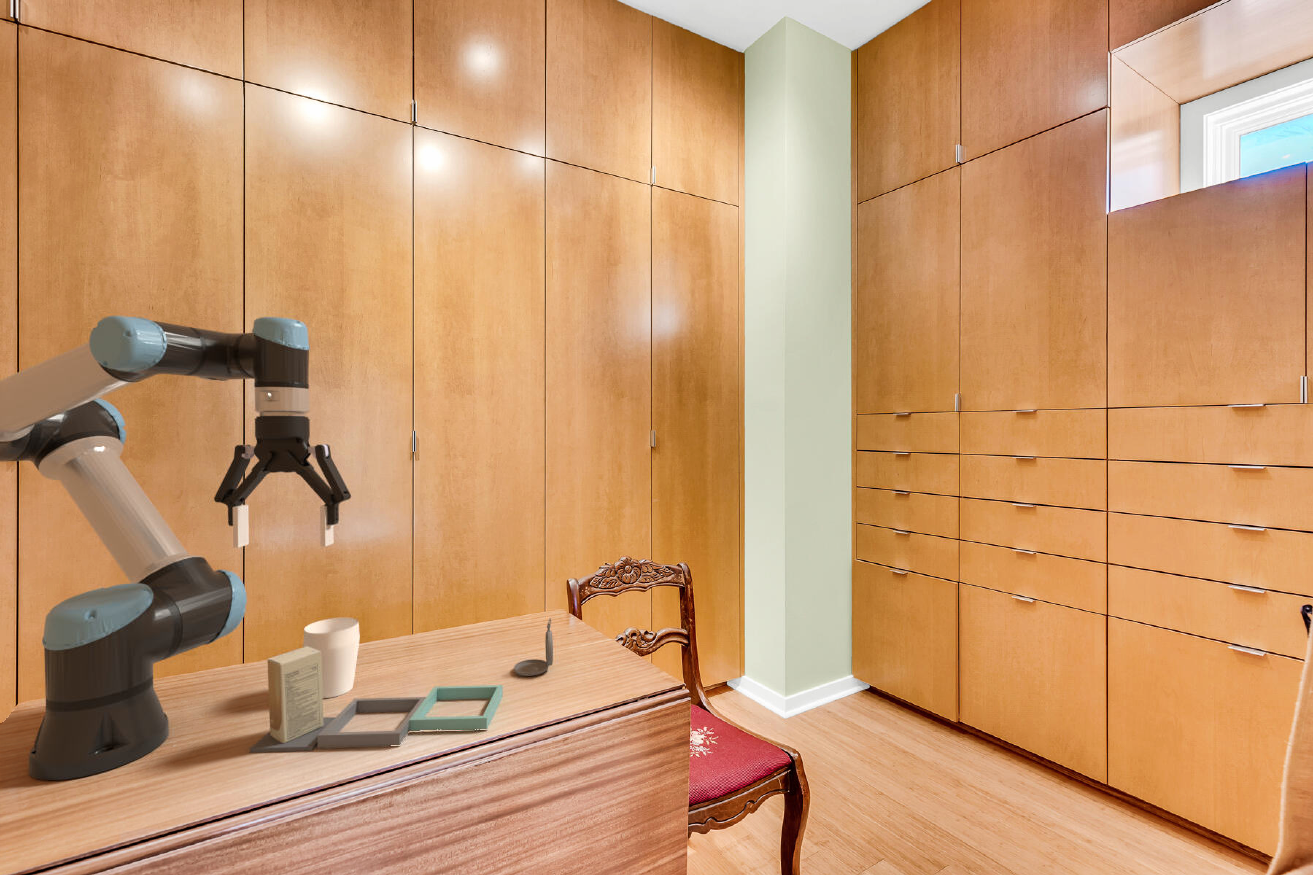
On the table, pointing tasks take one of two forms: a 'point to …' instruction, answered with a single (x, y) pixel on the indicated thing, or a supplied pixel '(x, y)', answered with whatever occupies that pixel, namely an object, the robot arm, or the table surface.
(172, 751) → the table surface
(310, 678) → the skincare box
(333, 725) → the grey frame
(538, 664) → the pocket watch
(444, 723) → the teal frame
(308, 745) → the slate mat
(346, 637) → the cup
